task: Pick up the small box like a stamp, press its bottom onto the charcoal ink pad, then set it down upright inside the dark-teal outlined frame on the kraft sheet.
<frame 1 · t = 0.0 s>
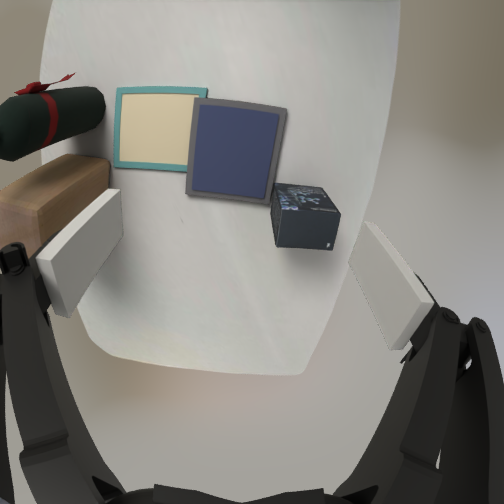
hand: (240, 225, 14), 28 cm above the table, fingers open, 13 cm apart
box: (295, 200, 43), on the table
ink pad: (233, 150, 38), on the table
wooden block: (86, 181, 40), on the table
print frame: (156, 127, 36), on the table
wine bottle: (86, 102, 33), on the table
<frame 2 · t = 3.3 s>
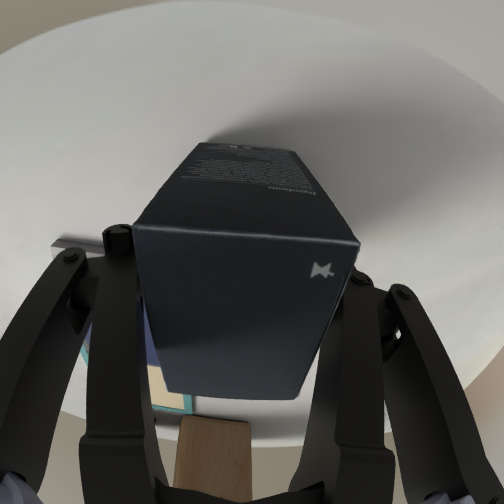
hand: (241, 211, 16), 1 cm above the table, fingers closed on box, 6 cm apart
box: (240, 205, 17), on the table, touching gripper
ink pad: (144, 314, 22), on the table
wooden block: (212, 426, 36), on the table
print frame: (138, 379, 28), on the table
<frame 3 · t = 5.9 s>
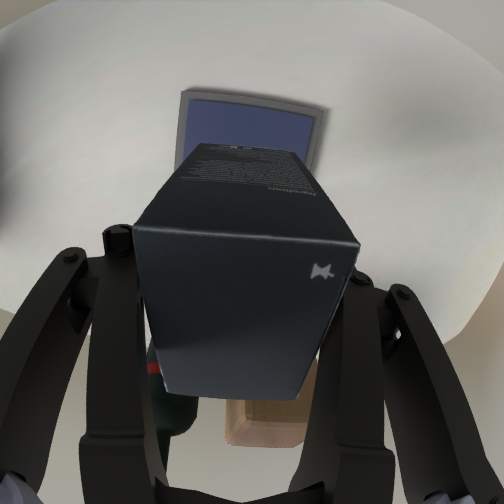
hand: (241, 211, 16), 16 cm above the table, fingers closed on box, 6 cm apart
box: (240, 205, 17), point 15 cm above the table, touching gripper
ink pad: (243, 153, 29), on the table
wooden block: (265, 319, 43), on the table
wine bottle: (178, 309, 42), on the table
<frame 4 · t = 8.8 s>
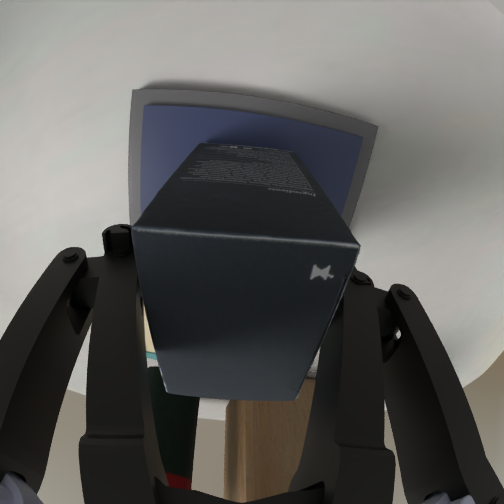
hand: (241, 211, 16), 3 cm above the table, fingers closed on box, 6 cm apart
box: (240, 205, 17), point 1 cm above the table, touching gripper, ink pad
ink pad: (242, 194, 18), on the table
wooden block: (271, 391, 32), on the table
wine bottle: (161, 380, 30), on the table
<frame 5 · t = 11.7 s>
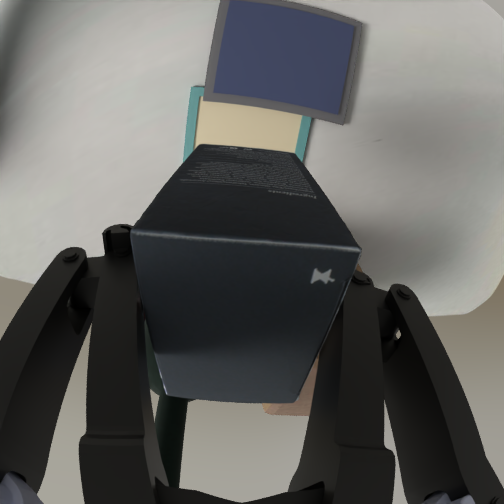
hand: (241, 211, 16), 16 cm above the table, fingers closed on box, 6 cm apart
box: (240, 206, 17), point 14 cm above the table, touching gripper
ink pad: (284, 54, 23), on the table
wooden block: (299, 260, 37), on the table
print frame: (243, 154, 29), on the table
wine bottle: (195, 248, 35), on the table
when the fingers open (2 cm above the table, at t = 14.3 s): box stays where it is, resting on print frame.
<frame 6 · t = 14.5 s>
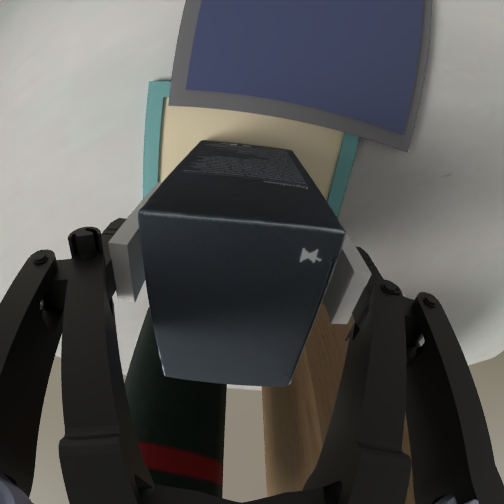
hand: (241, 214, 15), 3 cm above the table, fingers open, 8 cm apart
box: (239, 201, 18), resting on print frame
ink pad: (314, 25, 12), on the table
wooden block: (320, 336, 26), on the table
print frame: (242, 196, 18), on the table
wine bottle: (175, 324, 24), on the table
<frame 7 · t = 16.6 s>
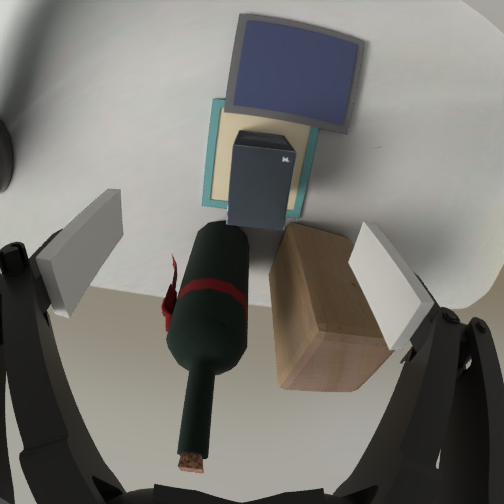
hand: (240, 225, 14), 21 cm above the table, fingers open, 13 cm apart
box: (257, 161, 33), resting on print frame
ink pad: (295, 71, 27), on the table
wooden block: (308, 255, 41), on the table
print frame: (259, 159, 33), on the table
wine bottle: (213, 244, 39), on the table
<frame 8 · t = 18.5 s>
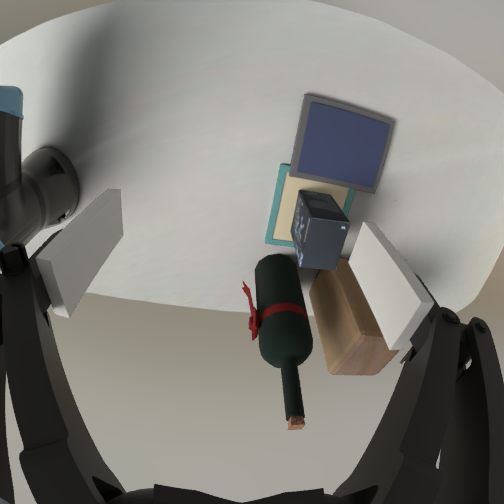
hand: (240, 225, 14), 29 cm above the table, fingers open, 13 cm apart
box: (309, 212, 45), resting on print frame
ink pad: (342, 145, 39), on the table
wooden block: (338, 277, 53), on the table
print frame: (310, 210, 45), on the table
wine bottle: (269, 270, 51), on the table
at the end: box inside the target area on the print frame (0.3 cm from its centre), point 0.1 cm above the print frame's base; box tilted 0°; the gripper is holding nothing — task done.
